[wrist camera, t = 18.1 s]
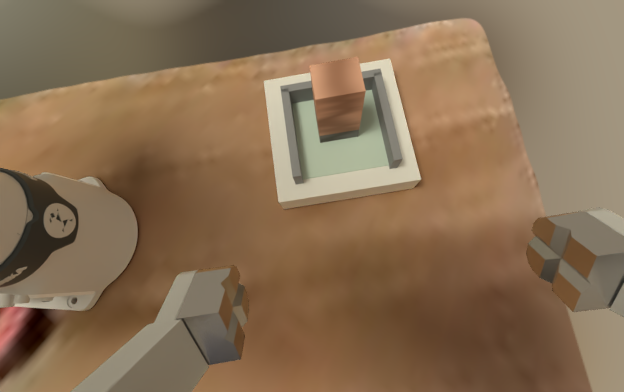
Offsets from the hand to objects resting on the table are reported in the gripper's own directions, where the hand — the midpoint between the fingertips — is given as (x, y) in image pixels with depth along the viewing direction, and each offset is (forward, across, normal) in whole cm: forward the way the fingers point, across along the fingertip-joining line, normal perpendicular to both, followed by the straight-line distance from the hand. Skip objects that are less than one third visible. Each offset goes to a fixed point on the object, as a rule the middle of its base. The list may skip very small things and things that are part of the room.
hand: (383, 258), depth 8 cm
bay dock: (+35, -2, +9) cm, 36 cm away
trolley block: (+32, -2, +6) cm, 33 cm away
